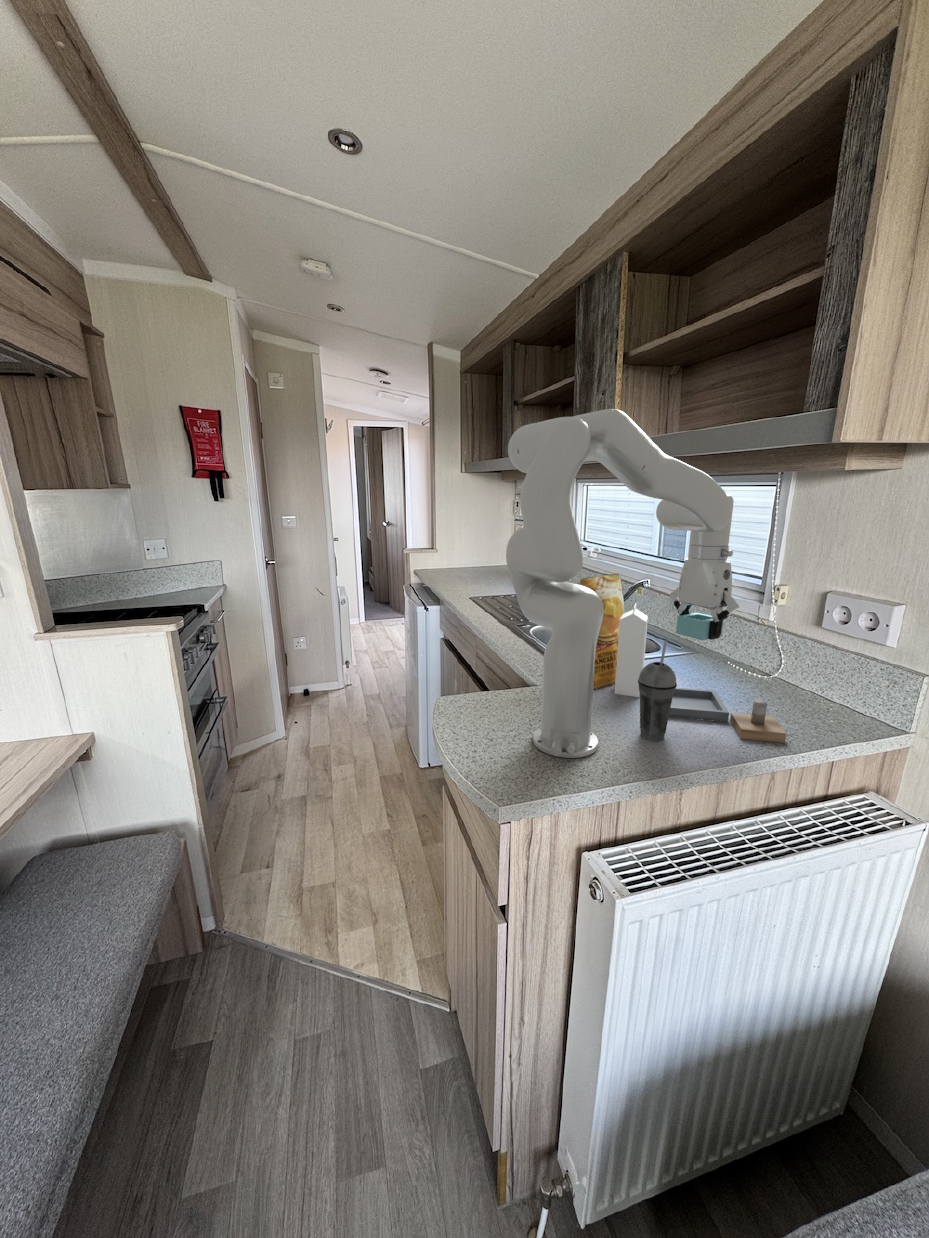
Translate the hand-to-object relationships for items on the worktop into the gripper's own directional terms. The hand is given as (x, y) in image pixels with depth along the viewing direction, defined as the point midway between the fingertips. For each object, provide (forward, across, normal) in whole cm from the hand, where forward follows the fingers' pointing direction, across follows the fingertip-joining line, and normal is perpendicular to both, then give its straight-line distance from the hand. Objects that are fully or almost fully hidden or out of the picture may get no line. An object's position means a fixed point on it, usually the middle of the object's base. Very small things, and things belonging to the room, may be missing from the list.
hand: (698, 634), depth 112 cm
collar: (0, 0, -1) cm, 1 cm away
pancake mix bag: (+18, +23, +6) cm, 29 cm away
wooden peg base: (+18, -15, -1) cm, 23 cm away
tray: (+18, 0, 0) cm, 18 cm away
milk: (+18, +14, +4) cm, 23 cm away
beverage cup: (+18, -5, +19) cm, 26 cm away
